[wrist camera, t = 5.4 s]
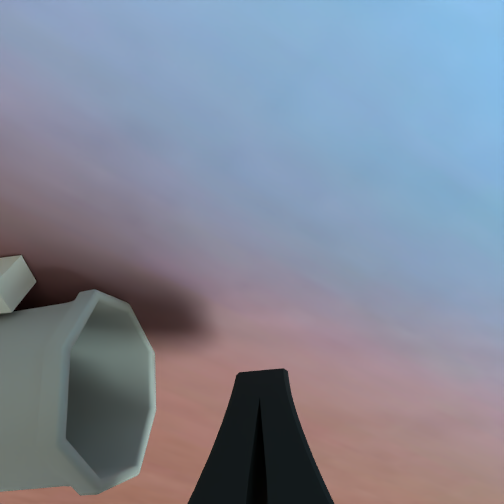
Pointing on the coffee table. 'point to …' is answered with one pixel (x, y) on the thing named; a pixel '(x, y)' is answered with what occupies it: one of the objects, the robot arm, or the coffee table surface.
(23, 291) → the rails
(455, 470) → the coffee table surface
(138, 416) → the tube
